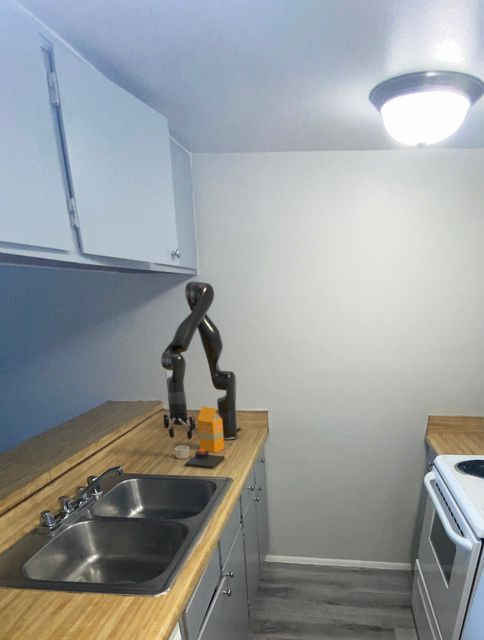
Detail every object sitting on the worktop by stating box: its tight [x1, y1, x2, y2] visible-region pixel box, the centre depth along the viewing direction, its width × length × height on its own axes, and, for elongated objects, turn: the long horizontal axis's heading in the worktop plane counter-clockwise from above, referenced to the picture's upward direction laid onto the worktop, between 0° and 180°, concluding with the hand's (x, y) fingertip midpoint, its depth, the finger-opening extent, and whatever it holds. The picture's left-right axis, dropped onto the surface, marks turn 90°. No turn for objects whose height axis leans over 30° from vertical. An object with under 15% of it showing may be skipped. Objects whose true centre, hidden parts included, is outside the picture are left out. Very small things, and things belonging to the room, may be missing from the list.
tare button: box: [197, 448, 205, 454], centre depth 214 cm, size 3×3×2 cm
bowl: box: [174, 445, 191, 460], centre depth 216 cm, size 6×6×4 cm
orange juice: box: [197, 406, 225, 453], centre depth 224 cm, size 8×9×20 cm
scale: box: [184, 450, 226, 470], centre depth 211 cm, size 14×13×3 cm
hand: (180, 438), depth 213 cm, fingers open, 8 cm apart
